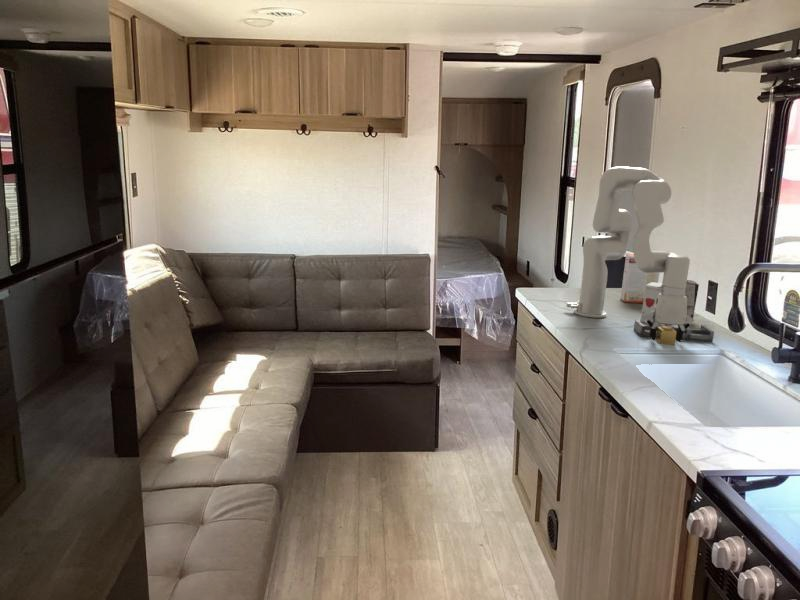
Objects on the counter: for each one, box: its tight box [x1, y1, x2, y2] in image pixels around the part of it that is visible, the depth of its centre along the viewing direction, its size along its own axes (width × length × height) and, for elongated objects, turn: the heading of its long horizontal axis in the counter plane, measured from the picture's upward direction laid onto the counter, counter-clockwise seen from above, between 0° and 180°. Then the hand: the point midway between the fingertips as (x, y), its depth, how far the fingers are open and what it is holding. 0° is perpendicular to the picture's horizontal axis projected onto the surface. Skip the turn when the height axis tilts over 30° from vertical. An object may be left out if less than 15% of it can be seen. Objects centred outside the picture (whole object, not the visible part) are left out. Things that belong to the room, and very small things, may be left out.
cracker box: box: [620, 253, 660, 304], centre depth 285 cm, size 14×6×21 cm, turn 88°
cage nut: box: [654, 325, 677, 346], centre depth 224 cm, size 5×5×6 cm
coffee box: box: [684, 279, 700, 326], centre depth 255 cm, size 9×6×16 cm
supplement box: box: [639, 282, 667, 326], centre depth 251 cm, size 9×9×15 cm
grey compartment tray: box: [633, 319, 715, 343], centre depth 233 cm, size 25×9×4 cm, turn 85°
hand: (665, 339), depth 224 cm, fingers open, 8 cm apart
